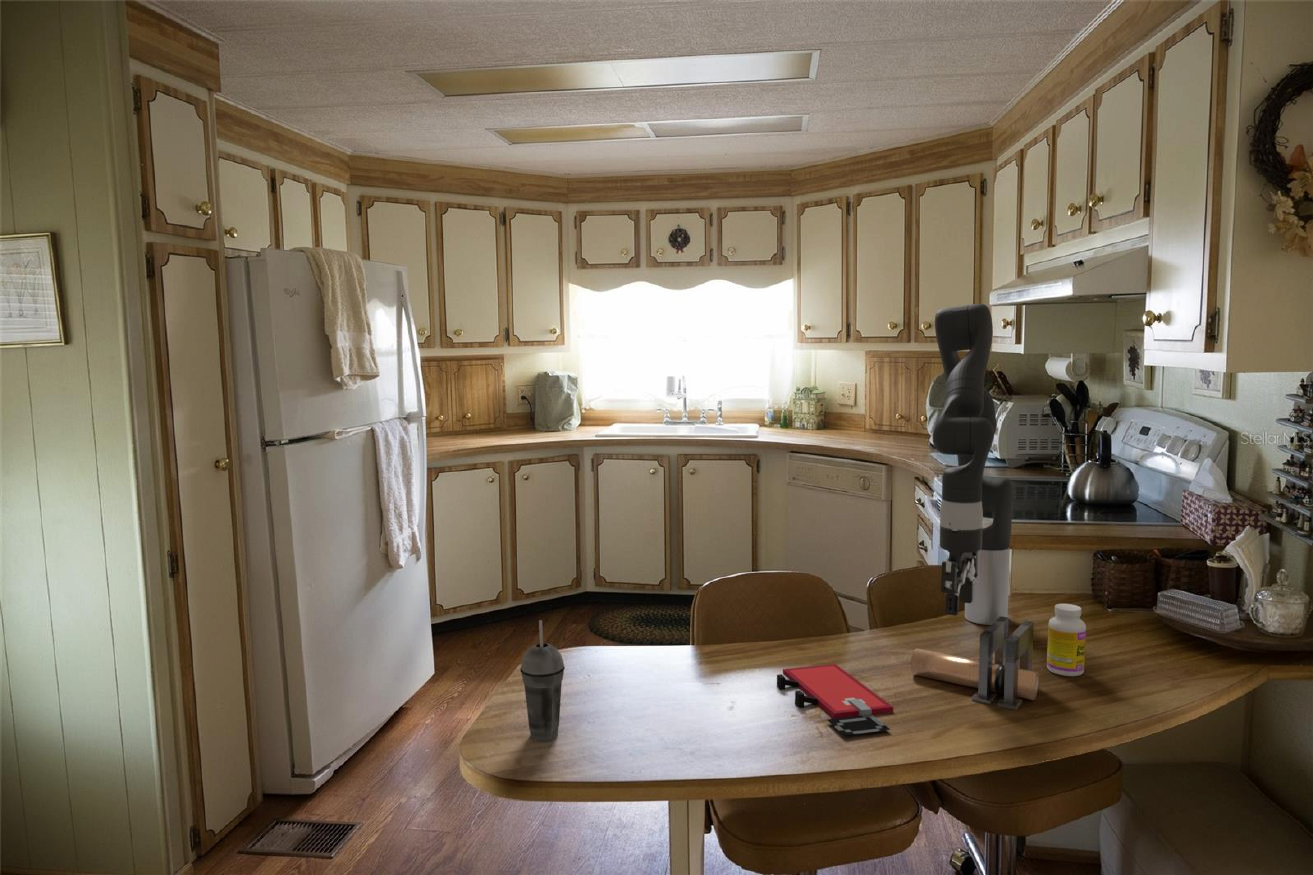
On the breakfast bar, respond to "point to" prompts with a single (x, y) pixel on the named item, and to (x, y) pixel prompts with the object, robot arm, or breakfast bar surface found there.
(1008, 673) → the metal stand
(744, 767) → the breakfast bar surface
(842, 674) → the red board with handle
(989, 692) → the metal stand
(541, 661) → the beverage cup
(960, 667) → the tube
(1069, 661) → the supplement bottle
